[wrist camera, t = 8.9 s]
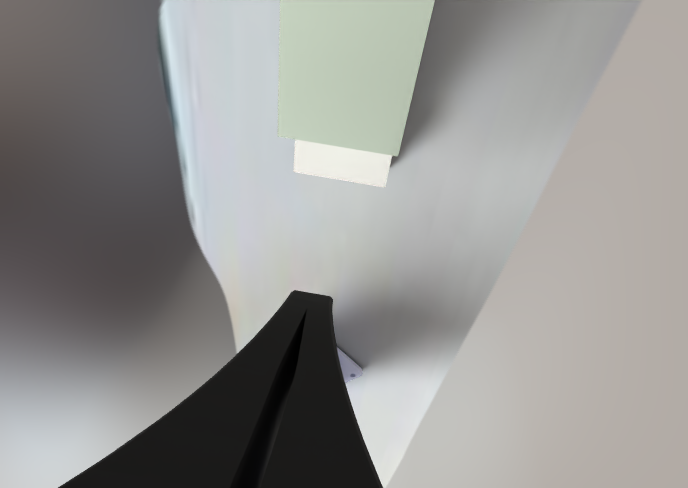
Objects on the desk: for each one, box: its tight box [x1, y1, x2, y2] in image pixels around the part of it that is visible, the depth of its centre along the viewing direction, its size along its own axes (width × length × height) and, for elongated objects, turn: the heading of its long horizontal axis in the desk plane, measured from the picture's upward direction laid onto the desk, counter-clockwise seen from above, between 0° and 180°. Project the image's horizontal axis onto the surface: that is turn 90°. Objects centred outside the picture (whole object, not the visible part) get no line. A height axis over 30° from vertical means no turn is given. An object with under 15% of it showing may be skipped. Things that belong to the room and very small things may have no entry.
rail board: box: [294, 139, 392, 187], centre depth 13 cm, size 9×5×3 cm, turn 172°
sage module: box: [278, 0, 435, 156], centre depth 11 cm, size 4×4×6 cm
